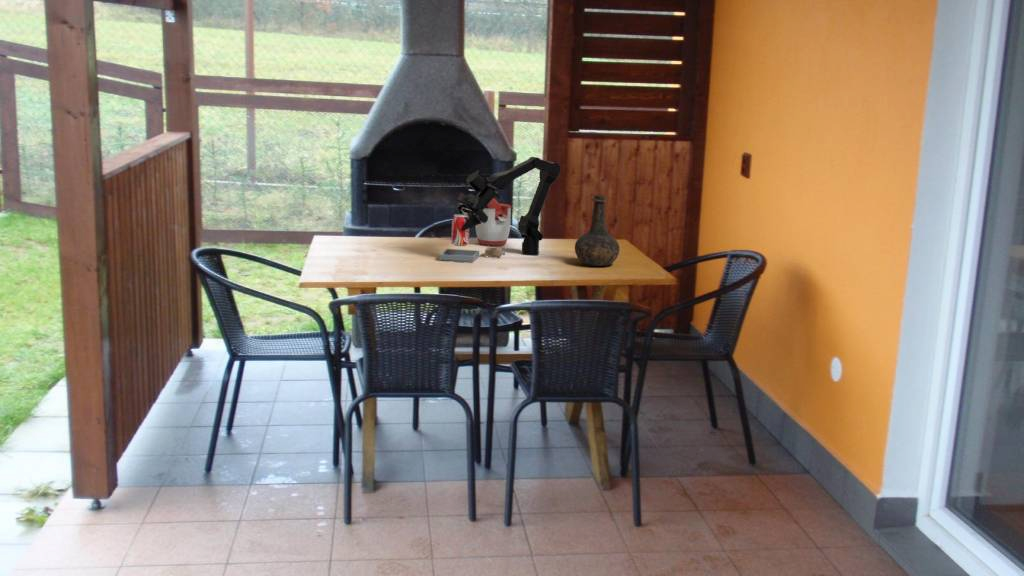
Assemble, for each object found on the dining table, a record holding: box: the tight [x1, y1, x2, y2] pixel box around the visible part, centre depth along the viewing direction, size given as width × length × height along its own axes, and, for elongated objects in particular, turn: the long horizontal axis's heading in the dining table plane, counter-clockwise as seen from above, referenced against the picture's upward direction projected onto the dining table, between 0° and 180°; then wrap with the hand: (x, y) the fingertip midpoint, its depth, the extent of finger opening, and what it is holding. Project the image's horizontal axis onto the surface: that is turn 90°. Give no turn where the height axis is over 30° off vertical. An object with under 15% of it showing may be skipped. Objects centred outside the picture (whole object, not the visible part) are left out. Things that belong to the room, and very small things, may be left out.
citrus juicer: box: [475, 198, 512, 247], centre depth 431 cm, size 16×17×20 cm
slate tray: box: [439, 248, 480, 263], centre depth 398 cm, size 13×13×2 cm
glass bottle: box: [574, 193, 620, 267], centre depth 395 cm, size 18×18×28 cm
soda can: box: [451, 213, 471, 247], centre depth 396 cm, size 7×7×12 cm
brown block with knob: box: [484, 246, 506, 259], centre depth 408 cm, size 8×9×3 cm
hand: (457, 228), depth 395 cm, fingers closed on soda can, 7 cm apart
